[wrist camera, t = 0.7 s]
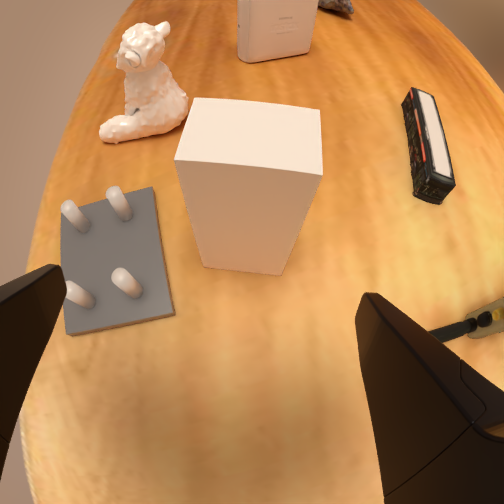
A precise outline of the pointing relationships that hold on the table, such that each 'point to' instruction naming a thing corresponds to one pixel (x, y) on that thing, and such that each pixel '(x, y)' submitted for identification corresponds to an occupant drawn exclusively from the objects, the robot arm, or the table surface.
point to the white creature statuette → (146, 87)
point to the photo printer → (274, 28)
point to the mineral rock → (337, 5)
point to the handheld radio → (475, 323)
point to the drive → (248, 180)
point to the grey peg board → (113, 262)
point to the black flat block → (427, 148)
